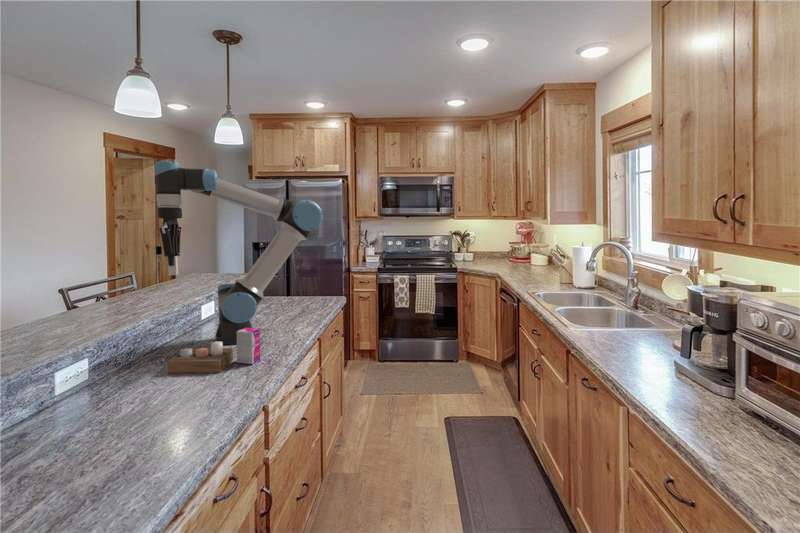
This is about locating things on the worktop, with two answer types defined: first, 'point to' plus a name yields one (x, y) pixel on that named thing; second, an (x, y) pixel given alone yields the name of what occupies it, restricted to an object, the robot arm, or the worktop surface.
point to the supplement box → (248, 346)
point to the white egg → (217, 348)
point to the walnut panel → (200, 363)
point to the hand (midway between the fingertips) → (173, 274)
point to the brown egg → (201, 352)
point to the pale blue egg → (186, 352)
